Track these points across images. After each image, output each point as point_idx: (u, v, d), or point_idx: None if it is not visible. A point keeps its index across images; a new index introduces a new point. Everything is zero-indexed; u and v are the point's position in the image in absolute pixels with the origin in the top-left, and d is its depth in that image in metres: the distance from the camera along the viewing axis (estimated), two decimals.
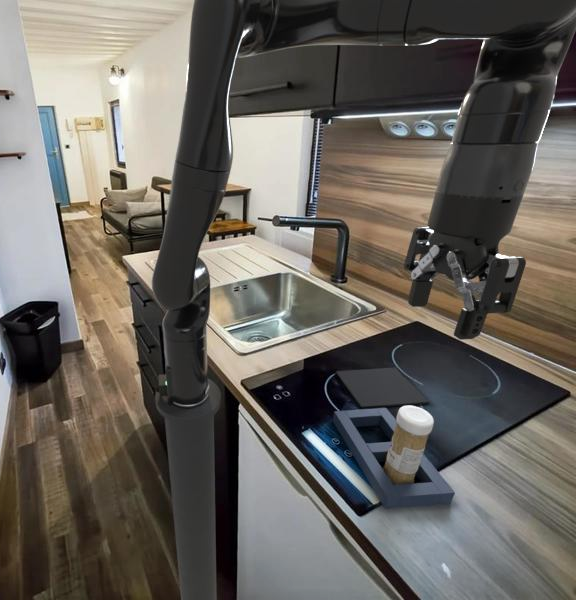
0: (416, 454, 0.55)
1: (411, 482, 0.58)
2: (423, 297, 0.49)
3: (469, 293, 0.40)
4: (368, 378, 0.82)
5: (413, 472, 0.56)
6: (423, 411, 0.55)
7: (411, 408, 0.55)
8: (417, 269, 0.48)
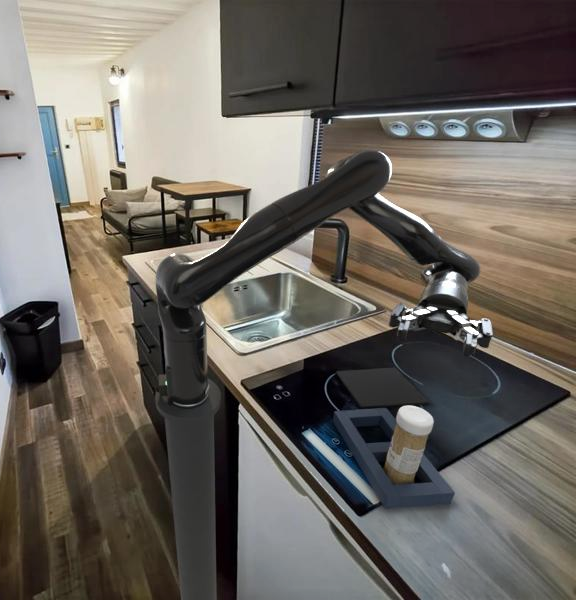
0: (416, 454, 0.55)
1: (411, 482, 0.58)
2: (406, 334, 0.62)
3: (470, 328, 0.60)
4: (368, 378, 0.82)
5: (413, 472, 0.56)
6: (423, 411, 0.55)
7: (411, 408, 0.55)
8: (410, 316, 0.64)
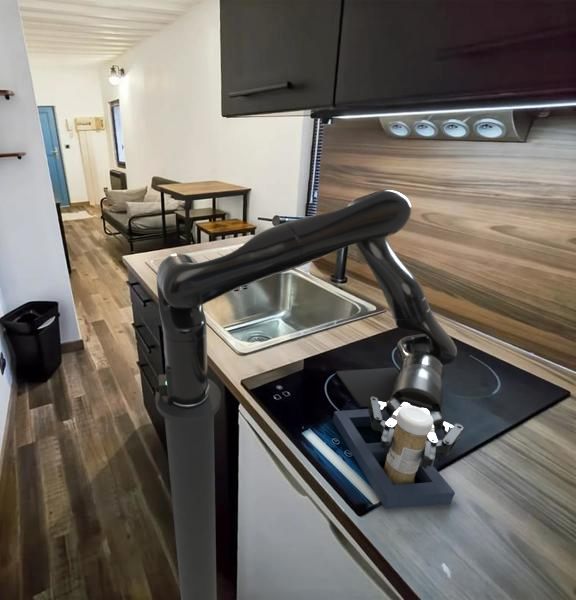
0: (416, 454, 0.55)
1: (411, 482, 0.58)
2: None
3: (433, 433, 0.57)
4: (368, 378, 0.82)
5: (413, 472, 0.56)
6: (423, 411, 0.55)
7: (411, 408, 0.55)
8: (391, 420, 0.59)
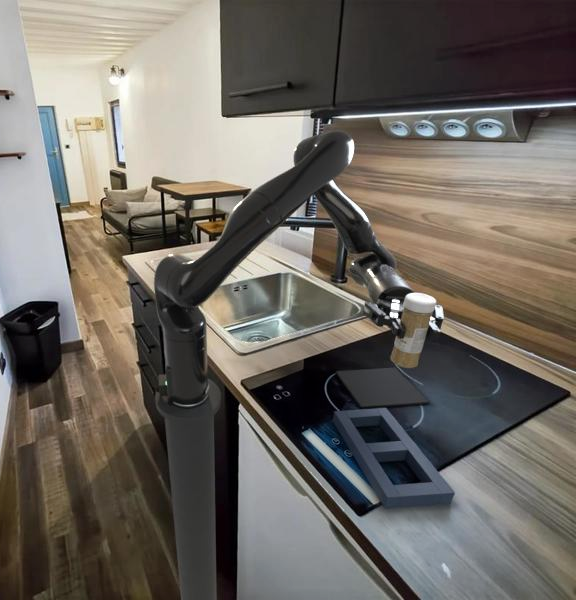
0: (424, 332, 0.63)
1: (417, 361, 0.66)
2: None
3: None
4: (368, 378, 0.82)
5: (420, 350, 0.65)
6: (423, 294, 0.63)
7: (414, 294, 0.63)
8: (393, 313, 0.67)
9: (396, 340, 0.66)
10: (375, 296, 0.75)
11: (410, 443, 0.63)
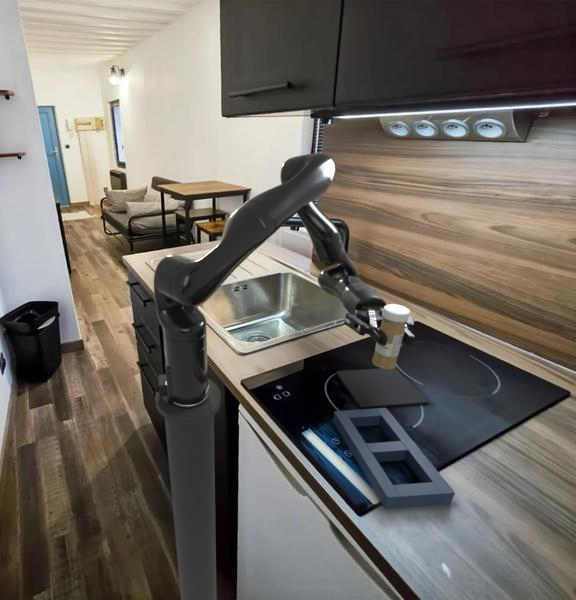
0: (401, 338, 0.73)
1: (395, 362, 0.76)
2: None
3: None
4: (368, 378, 0.82)
5: (398, 353, 0.75)
6: (397, 305, 0.73)
7: (390, 306, 0.73)
8: (372, 323, 0.76)
9: (377, 346, 0.75)
10: (351, 307, 0.84)
11: (410, 443, 0.63)
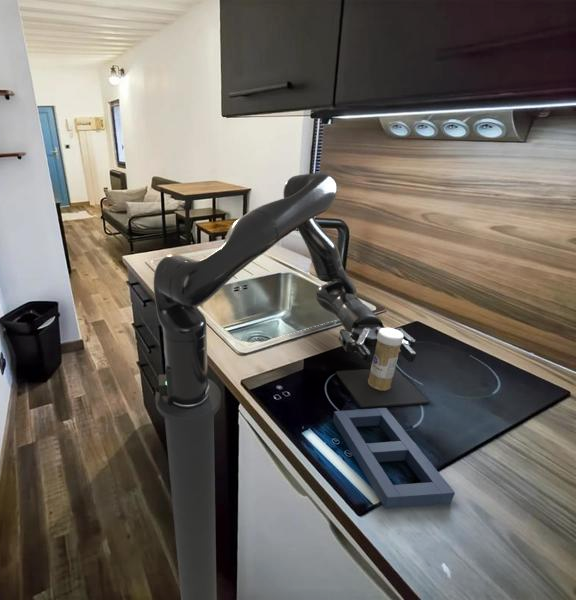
0: (396, 360, 0.75)
1: (390, 383, 0.78)
2: None
3: None
4: (368, 378, 0.82)
5: None
6: (392, 329, 0.75)
7: (384, 329, 0.75)
8: (359, 340, 0.79)
9: (372, 368, 0.78)
10: (348, 325, 0.86)
11: (410, 443, 0.63)
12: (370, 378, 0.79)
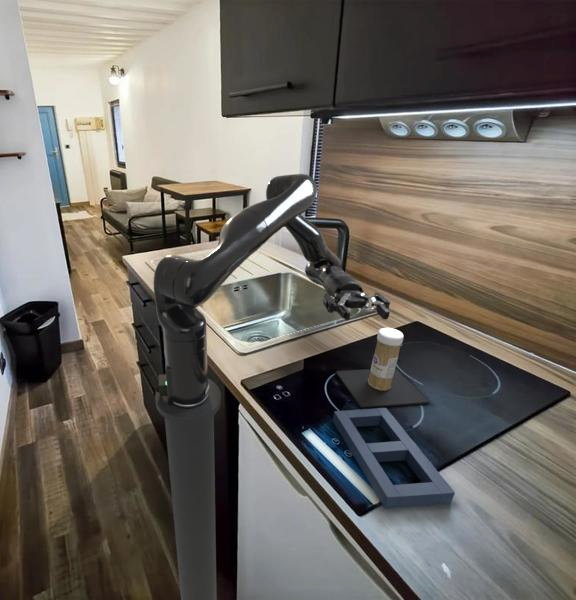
0: (396, 360, 0.75)
1: (390, 383, 0.78)
2: None
3: (376, 300, 0.88)
4: (368, 378, 0.82)
5: None
6: (392, 329, 0.75)
7: (384, 329, 0.75)
8: (341, 302, 0.88)
9: (372, 368, 0.78)
10: (332, 291, 0.96)
11: (410, 443, 0.63)
12: (370, 378, 0.79)
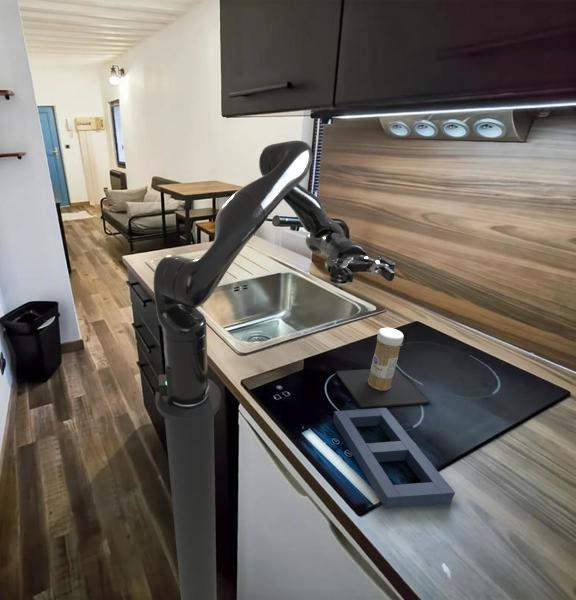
0: (396, 360, 0.75)
1: (390, 383, 0.78)
2: None
3: (380, 263, 0.84)
4: (368, 378, 0.82)
5: None
6: (392, 329, 0.75)
7: (384, 329, 0.75)
8: (343, 265, 0.84)
9: (372, 368, 0.78)
10: (334, 256, 0.92)
11: (410, 443, 0.63)
12: (370, 378, 0.79)
